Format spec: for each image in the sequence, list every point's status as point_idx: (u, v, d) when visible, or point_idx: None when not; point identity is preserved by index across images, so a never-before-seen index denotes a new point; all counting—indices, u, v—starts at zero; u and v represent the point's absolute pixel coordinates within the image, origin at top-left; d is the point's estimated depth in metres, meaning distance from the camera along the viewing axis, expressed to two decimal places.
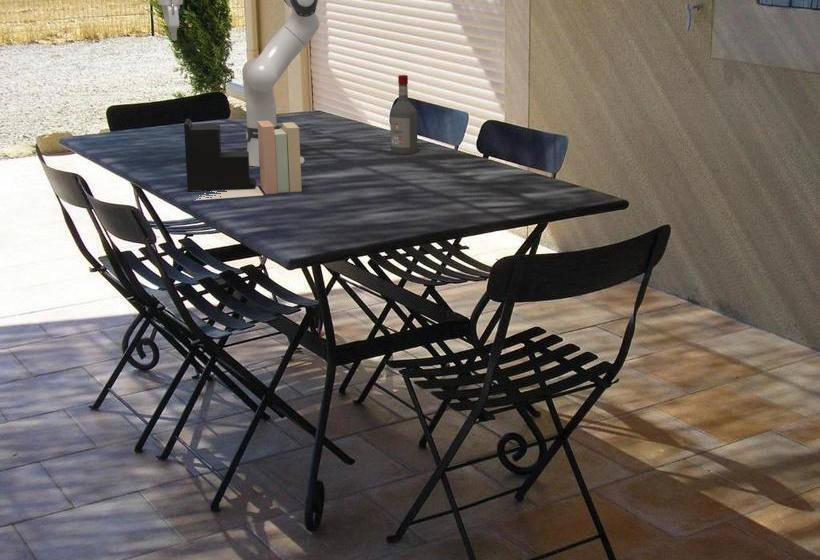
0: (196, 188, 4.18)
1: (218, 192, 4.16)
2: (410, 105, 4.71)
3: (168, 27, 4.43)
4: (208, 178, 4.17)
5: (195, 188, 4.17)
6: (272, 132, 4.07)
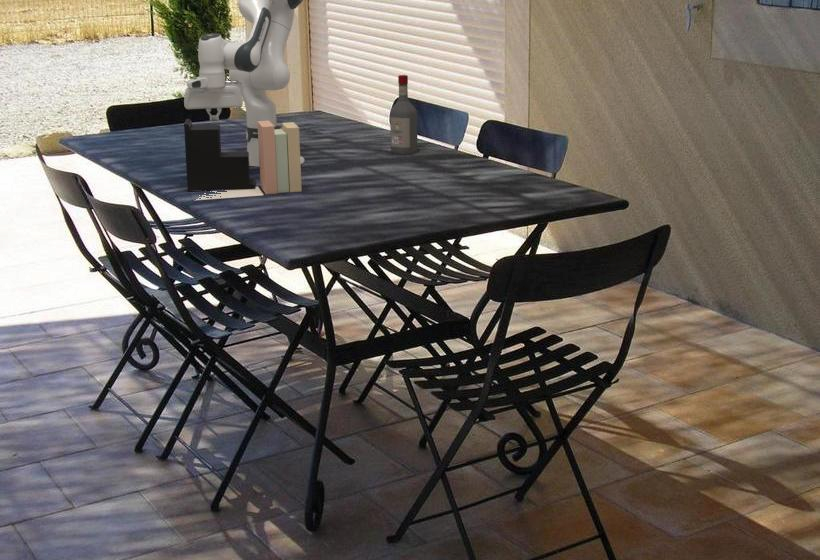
0: (196, 188, 4.18)
1: (218, 192, 4.16)
2: (410, 105, 4.71)
3: (210, 111, 4.25)
4: (208, 178, 4.17)
5: (195, 188, 4.17)
6: (272, 132, 4.07)
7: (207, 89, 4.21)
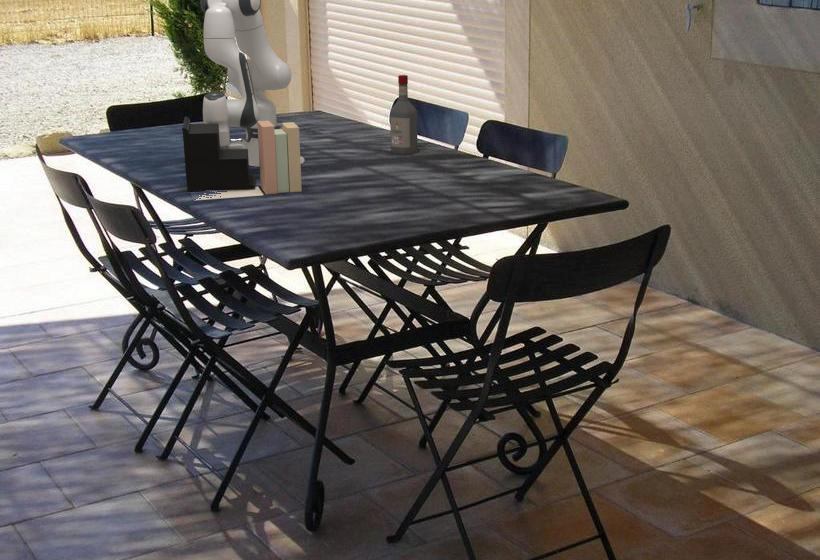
0: (196, 188, 4.17)
1: (218, 192, 4.16)
2: (410, 105, 4.71)
3: None
4: (208, 179, 4.16)
5: (195, 189, 4.17)
6: (272, 132, 4.07)
7: None
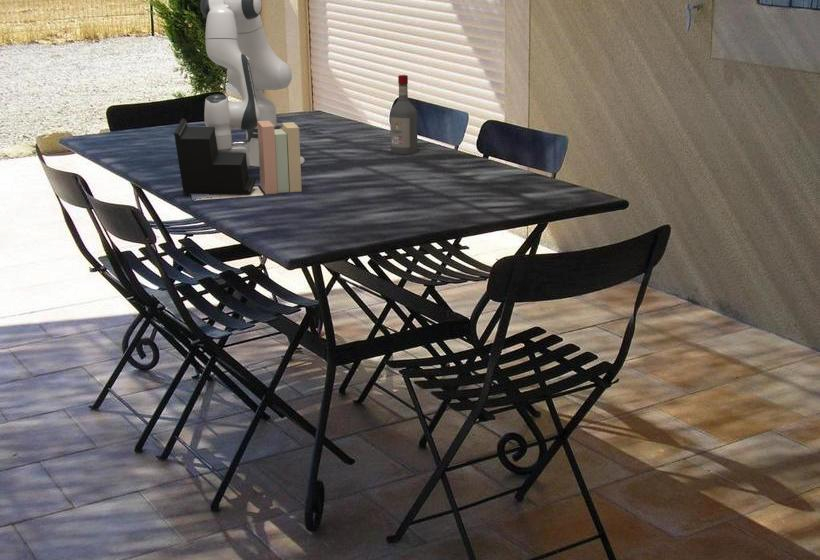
0: (192, 192, 4.12)
1: None
2: (410, 105, 4.71)
3: None
4: (203, 183, 4.10)
5: (191, 192, 4.12)
6: (272, 132, 4.07)
7: None
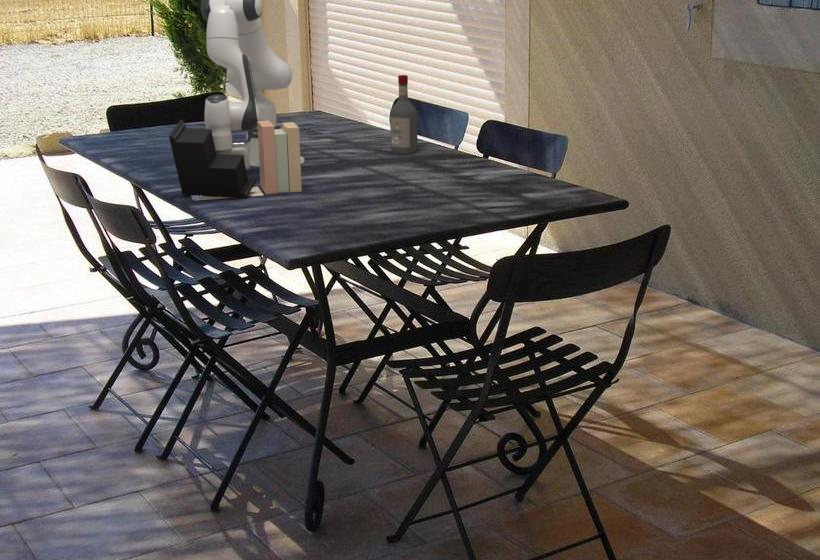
0: (190, 193, 4.10)
1: None
2: (410, 105, 4.71)
3: None
4: (200, 186, 4.07)
5: (189, 193, 4.10)
6: (272, 132, 4.07)
7: None
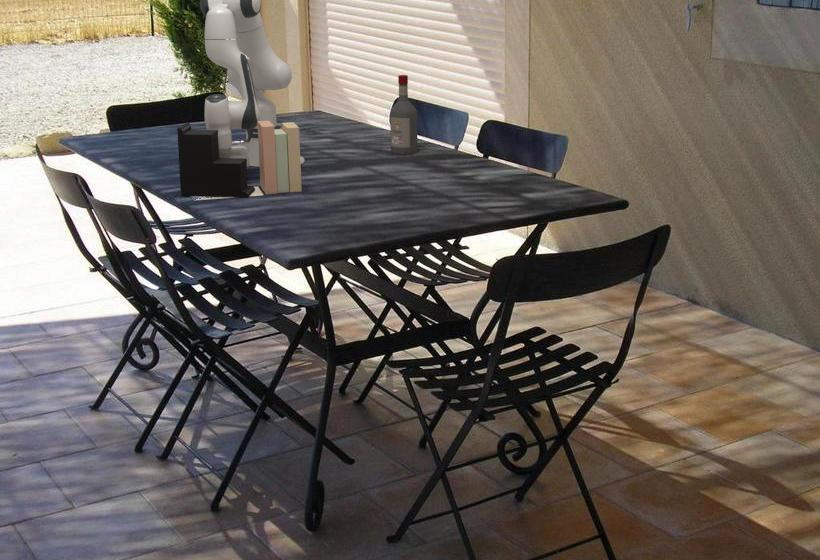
0: (189, 193, 4.10)
1: None
2: (410, 105, 4.71)
3: None
4: (201, 184, 4.08)
5: (188, 193, 4.10)
6: (272, 132, 4.07)
7: None
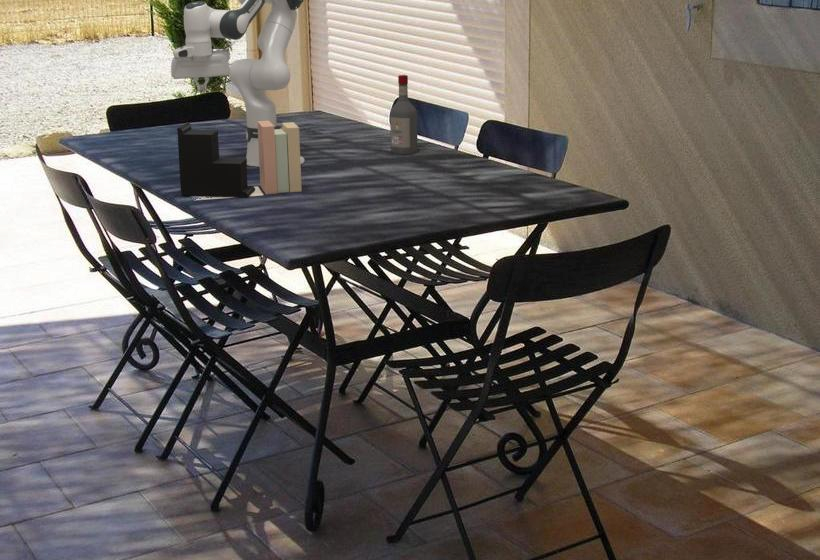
0: (189, 193, 4.10)
1: None
2: (410, 105, 4.71)
3: None
4: (201, 184, 4.08)
5: (188, 193, 4.10)
6: (272, 132, 4.07)
7: (194, 58, 4.18)
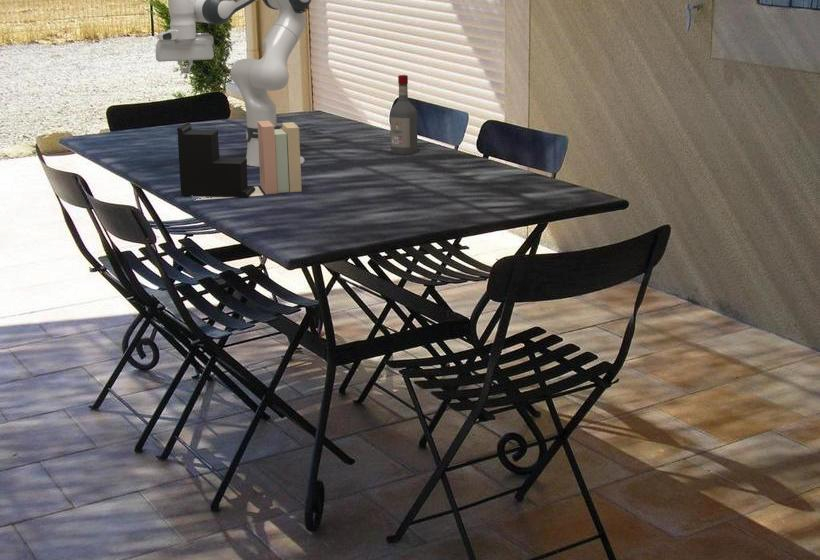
0: (189, 193, 4.10)
1: None
2: (410, 105, 4.71)
3: None
4: (201, 184, 4.09)
5: (188, 193, 4.10)
6: (272, 132, 4.07)
7: (178, 41, 4.25)
